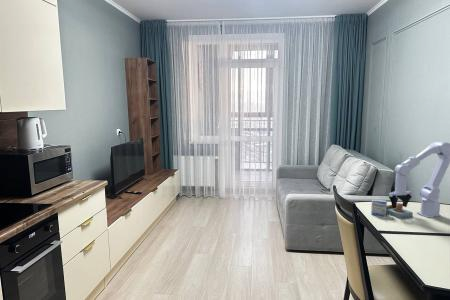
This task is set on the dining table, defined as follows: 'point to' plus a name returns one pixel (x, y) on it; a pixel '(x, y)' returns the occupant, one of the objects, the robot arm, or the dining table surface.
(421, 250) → the dining table surface
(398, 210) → the brown rounded peg
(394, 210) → the socket block
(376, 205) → the medicine box
